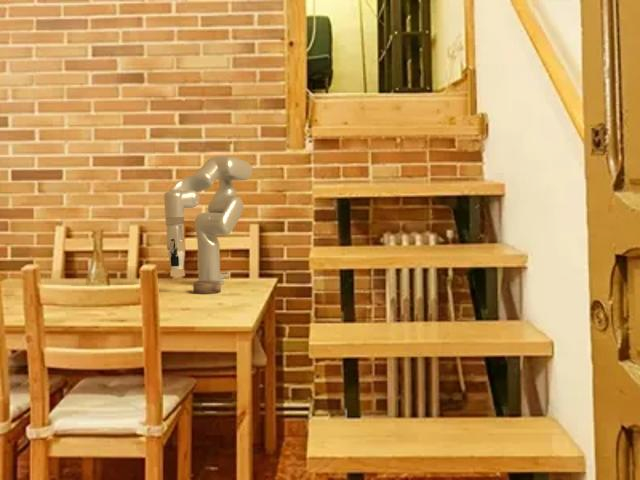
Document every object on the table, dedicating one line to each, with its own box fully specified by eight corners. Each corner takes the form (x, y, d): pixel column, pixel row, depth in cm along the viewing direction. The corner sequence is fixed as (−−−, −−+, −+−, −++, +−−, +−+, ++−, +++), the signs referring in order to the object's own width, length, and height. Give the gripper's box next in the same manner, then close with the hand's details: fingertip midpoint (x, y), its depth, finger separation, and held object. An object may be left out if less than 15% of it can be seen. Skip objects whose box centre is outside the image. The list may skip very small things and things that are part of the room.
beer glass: (165, 276, 292) (163, 240, 290) (175, 273, 299) (173, 238, 297) (180, 277, 290) (178, 241, 288) (189, 274, 296) (187, 238, 294)
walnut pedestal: (209, 289, 301) (209, 279, 300) (226, 291, 293) (225, 282, 293) (188, 292, 293) (187, 282, 292) (204, 295, 285) (204, 285, 285)
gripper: (171, 219, 300) (173, 261, 302) (160, 224, 283) (162, 268, 285) (188, 219, 300) (190, 261, 302) (178, 223, 283) (181, 268, 285)
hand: (177, 264), depth 294 cm, fingers closed on beer glass, 6 cm apart
